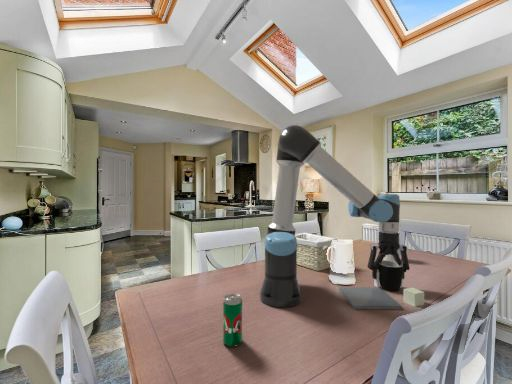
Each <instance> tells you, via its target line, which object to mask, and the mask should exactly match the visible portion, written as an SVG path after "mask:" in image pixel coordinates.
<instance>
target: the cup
mask: <svg viewBox="0 0 512 384" xmlns="http://www.w3.org/2000/svg"><path fill="white" fill-rule="evenodd" d="M399 245H401V239H400V238H399ZM397 253H398V255H399V258H400V259H401V253H400V249H398V250H397ZM383 259H384V260H383V261H385V260H386V261H394V262H396V261H395V259H394V257H393V255H386V256H385V257H384V258H383Z"/></svg>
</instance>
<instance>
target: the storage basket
mask: <svg viewBox="0 0 512 384" xmlns="http://www.w3.org/2000/svg"><path fill="white" fill-rule="evenodd" d="M295 237H296V239H297V266H302V267H304V268H308V269H311V270H314V271H322V270H326V269H329V268H331V267H330V264H329V262H328V260H327V255H326V253H327V249H328V247H329V246H330V245H331V242H332V240H337V241H338V239H337V238H335V237H334V238H333V237H330V236H323V235H318V234H314V233H313V234H312V233H309V232H301V233H295Z"/></svg>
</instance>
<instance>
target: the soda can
mask: <svg viewBox="0 0 512 384" xmlns="http://www.w3.org/2000/svg"><path fill="white" fill-rule="evenodd" d="M242 342H243V299H242V296H241V295H240V294H238V293H230V294H227V295H225V296H224V299H223V301H222V343H223V344H224V345H225V344H226V345H228V346H227V347H229V346H235V345H238V344H239V345H241V343H242ZM226 345H225V346H226ZM239 345H238V346H239ZM235 347H236V346H235Z"/></svg>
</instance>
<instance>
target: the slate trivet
mask: <svg viewBox="0 0 512 384" xmlns="http://www.w3.org/2000/svg"><path fill="white" fill-rule="evenodd" d="M338 291H339V292H340V294H341V295H342V296H343V297H344V298H345V300H346V301H347V302H348V303H349V305H350V306H351V307H352V308H353V310H402V307H403V306H402V305H401V304H400V303H399V302H398V301H397V300H396V299H394V298H393V297H392V296H390V295H389V294H388V293H387V292H386V291H385V290H384V289H382V288H381V286H379V287H376V286H373V287H372V286H369V287H368V286H339V287H338Z"/></svg>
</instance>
